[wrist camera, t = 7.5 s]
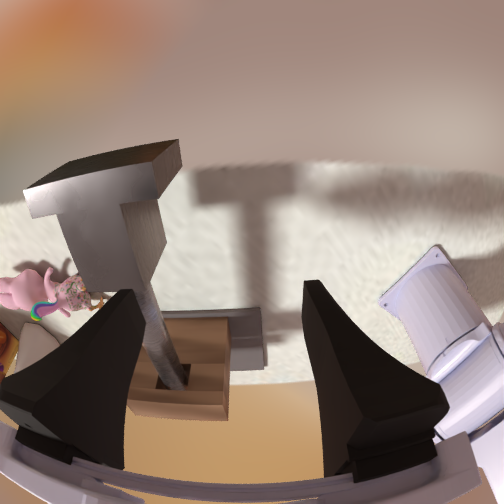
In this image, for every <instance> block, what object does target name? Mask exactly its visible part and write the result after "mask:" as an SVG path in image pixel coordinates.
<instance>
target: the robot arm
mask: <svg viewBox="0 0 504 504" xmlns="http://www.w3.org/2000/svg"><path fill="white" fill-rule="evenodd" d="M437 253H438V254H437ZM467 290H468V287H467V285H466V284H465V282H464V281H463V279H462V278H461V277H460V275H459V274H458V273H457V271H456V270H455V268H454V267H453V266H452V264H451V263H450V262H449V260H448V259H447V258H446V256H445V255H444V254H443V253H442V251H441V250H440V249H439V248H438V247H437V246H434V247H432V248H431V249H430V250H429V251H428V252H427V253H426V254H425V255H424V256H423V257H422V258H421V259H420V261H419V262H418V263H417V264H415V265H414V266H413V267H412V268H411V269H410V270H409V271H408V272H407V273H406V274H405V275H404V276H403V277H402V278H401V279H400V280H399V281H398V282H397V283H396V284H395V285H394V286H393V287H391V288H390V289H389V290H388V291H387V292H386V293H385V294H384V295H383V296H382V297H380V298H379V300H378V304H379V306H381V307H382V308H383V309H385V310H386V311H388V312H389V313H391V314H392V315H393V316H395V317H396V318H398V319H399V320H400V321H402V323H403V325H404V327H405V329H406V332H407V334H408V336H409V338H410V340H411V342H412V344H413V346H414V348H415V350H416V353H417V355H418V357H419V359H420V361H421V363H422V366H423V368H424V370H425V373H426V375H427V376H426V377H424V376H422V375H420V374H419V373H417V372H415V371H414V370H412V369H410V368H408V367H407V366H405V365H404V364H402V363H401V362H399V361H398V360H397V359H395V358H394V357H392V356H391V355H390V354H388V353H387V352H385V351H384V350H383V349H382V348H381V347H379V346H378V345H377V344H376V343H375V342H373V341H372V340H371V339H370V338H369V337H368V336H367V335H366V334H365V333H364V332H363V331H362V330H361V329H360V328H359V327H358V326H357V325H356V324H355V323H354V322H353V321H352V320H351V319H350V318H349V317H348V315H347V314H346V313H345V312H344V311H343V310H342V308H341V307H340V306H339V305H338V304H337V302H336V301H335V300H334V299H333V297H332V296H331V295H330V293H329V292H328V291H327V289H326V288H325V287H324V285H323V284H322V282H321V281H320V280H307V281H304V287H303V304H302V324H303V331H304V338H305V343H306V347H307V351H308V355H309V359H310V363H311V367H312V371H313V375H314V379H315V383H316V387H317V394H318V403H319V411H320V421H321V432H322V445H323V463H324V478H320V479H313V480H303V481H295V482H282V483H264V484H220V483H203V482H191V481H181V480H173V479H166V478H159V477H153V476H147V475H142V474H136V473H132V472H127V471H123V469H124V468H125V467H124V424H125V413H126V405H127V398H128V392H129V387H130V383H131V380H132V376H133V373H134V370H135V366H136V363H137V360H138V357H139V353H140V350H141V347H142V343H143V339H144V333H145V327H146V320H145V318H144V316H143V313H142V311H141V309H140V306H139V304H138V301H137V299H136V296H135V293H134V291H133V289H120V290H119V291H118V292H117V293H116V294H115V295H114V296H113V297H112V298H110V299H109V300H108V301H107V302H106V303H105V304H104V305H103V306H102V307H101V308H100V309H99V310H98V311H97V312H96V313H95V314H94V315H93V316H92V317H91V318H90V319H89V320H88V321H87V322H86V323H85V324H84V325H83V326H82V327H81V328H80V329H79V330H78V331H76V332H75V333H74V334H73V335H72V336H71V337H70V338H69V339H67V340H66V341H65V342H64V343H62V344H61V345H60V346H59V347H57V348H56V349H55V350H53V351H52V352H50V353H49V354H47V355H46V356H44V357H43V358H42V359H40V360H38V361H37V362H35V363H33V364H32V365H30V366H28V367H26V368H25V369H23V370H21V371H19V372H16V373H14V374H12V375H10V376H8V377H5V378H3V379H2V381H1V384H0V409H1V410H2V411H3V412H4V413H5V414H6V415H7V416H8V417H10V418H11V419H12V420H13V421H14V422H15V423H17V424H18V425H19V428H18V430H16V429H15V428H13V427H11V426H9V425H7V424H5V423H3V422H2V421H0V473H2V474H3V475H5V476H6V477H7V478H9V479H11V480H12V481H13V482H15V483H16V484H18V485H19V486H21V487H22V488H24V489H25V490H27V491H28V492H30V493H32V494H33V495H35V496H37V497H38V498H40V499H42V500H44V501H45V502H47V503H49V504H144V502H145V501H144V500H143V499H141V498H138V497H135V496H132V495H130V494H127V493H125V492H123V491H122V490H120V489H116V488H113V487H110V486H107V485H104V484H103V482H104V483H108V484H111V485H115V486H118V487H122V488H126V489H131V490H135V491H140V492H145V493H150V494H155V495H161V496H167V497H173V498H181V499H190V500H201V501H213V502H241V503H243V502H245V503H247V502H249V503H250V502H277V501H291V500H300V501H294V502H288V503H281V504H447V503H449V502H451V501H453V500H455V499H457V498H458V497H460V496H462V495H464V494H466V493H468V492H469V491H471V490H473V489H475V488H476V487H478V486H480V485H481V484H482V480H481V476H480V473H479V469H478V467H481V468H483V470H484V472H485V474H486V477H487V479H488V481H489V484H490V486H491V488H492V490H493V493H494V495H495V498H496V500H497V503H498V504H504V411H503V412H502V413H501V414H499V415H498V416H497V417H496V418H494V419H493V420H492V421H490V422H489V423H488V424H486V425H485V426H483V427H482V428H480V429H478V430H476V429H477V428H479V427H480V426H482V425H483V424H484V423H486V422H487V421H488V420H490V419H491V418H492V417H494V416H495V415H496V414H497V413H499V412H500V411H501V410H502V409H504V323H500V322H497V323H496V324H495V325H494V326H492V325H491V323H490V322H489V320H488V319H487V317H486V316H485V314H484V313H483V312H482V310H481V309H480V307H479V306H478V305H477V303H476V302H475V300H474V299H473V298H472V296H471V295H470V294H469V292H468V291H467ZM385 303H386V304H385ZM434 443H436V444H435V445H434ZM316 497H318V498H317V499H309V498H316ZM301 499H306V500H301Z"/></svg>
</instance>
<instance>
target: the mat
mask: <svg viewBox="0 0 504 504" xmlns="http://www.w3.org/2000/svg"><path fill="white" fill-rule="evenodd" d="M161 314H162V316H163V318H197V317H227V316H228V322H229V327H230V333H231V357H230V371H246V370H264V359H263V343H262V328H261V312H260V308H248V309H228V310H202V311H161Z"/></svg>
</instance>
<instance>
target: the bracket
mask: <svg viewBox="0 0 504 504" xmlns="http://www.w3.org/2000/svg"><path fill="white" fill-rule="evenodd" d="M163 319H164V322H165V324H166V327H167V330H168V332H169V335H170V337H171V340H172V342H173V345H174V347H175V350H176V352H177V355H178V357H179V359H180V362H181V364H182V366H183V369H184V371H185V373H186V376H187V378H188V380H189V383H188V390H187V391H180V390H167V389H166V387H165V385H164V384H163V382H162V380H161V378H160V377H159V375H158V373H157V371H156V369H155V367H154V366H153V364H152V362H151V360H150V358H149V356H148V354H147V352H146V350H145V348H144V347H143V345H142V347H141V350H140V353H139V357H138V360H137V363H136V366H135V370H134V373H133V376H132V380H131V383H130V387H129V392H128V398H127V406H128V407H129V408H130V409H131V411H132V412H133V413H134V414H135V415H139V416H147V417H157V418H168V419H181V420H200V421H228V408H229V407H228V406H229V381H230V357H231V333H230V327H229V322H228V316H227V317H197V318H163Z"/></svg>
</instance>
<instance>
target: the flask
mask: <svg viewBox="0 0 504 504" xmlns="http://www.w3.org/2000/svg"><path fill="white" fill-rule="evenodd" d="M59 346H60V344H59V343H58V341H57V340H56V338H55V337H53V336H52V335H51V334H50V333H48V332H47V331H46V330H45V329H43V328H42V327H41V326H40V325H38V324H31V323H25V324H24V326H23V328H22V329H21V333H20V339H19V346H18V353H17V360H16V368H15V371H14V373H16V372H19V371H21V370H23V369H25V368H26V367H28V366H30V365H32V364H33V363H35V362H37V361H38V360H40V359H42V358H43V357H44V356H46V355H47V354H49V353H50V352H52V351H53V350H55V349H56V348H57V347H59Z"/></svg>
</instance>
